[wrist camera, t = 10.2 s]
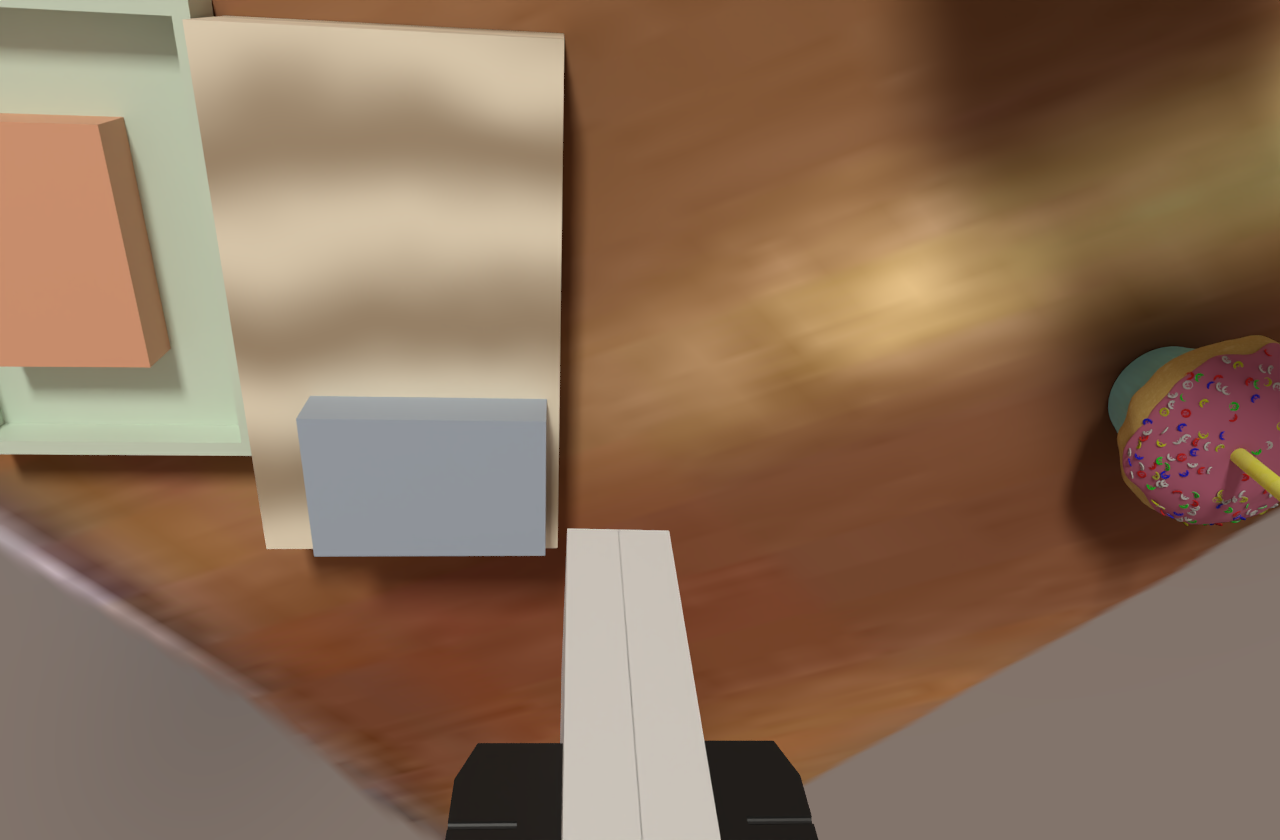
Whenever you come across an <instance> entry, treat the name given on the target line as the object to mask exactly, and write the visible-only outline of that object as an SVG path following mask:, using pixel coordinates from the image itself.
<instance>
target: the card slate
mask: <svg viewBox="0 0 1280 840" xmlns="http://www.w3.org/2000/svg"><path fill="white" fill-rule="evenodd" d="M296 423H297V430H298V438H299V445H300V453H301V461H302V468H303V476H304V483H305V491H306V499H307V506H308V514H309V521H310V529H311V537H312V544H313V552H314V557H331V556H545V547H546V444H547V399H509V398H432V397H355V396H310V397H309V398H308V400H307V402H306V403H305V405H304V407H303V408H302V410H301V411H300V413H299V415H298V416H297V418H296Z"/></svg>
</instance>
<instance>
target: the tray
mask: <svg viewBox="0 0 1280 840" xmlns="http://www.w3.org/2000/svg"><path fill="white" fill-rule="evenodd" d="M204 17H214V15H213V8H212V1H211V0H0V113H13V114H45V115H76V116H108V117H124V122H125V127H126V132H127V136H128V141H129V146H130V151H131V156H132V161H133V166H134V171H135V176H136V181H137V185H138V190H139V195H140V200H141V205H142V210H143V215H144V220H145V225H146V230H147V234H148V239H149V244H150V249H151V254H152V259H153V264H154V269H155V274H156V278H157V283H158V288H159V293H160V298H161V303H162V308H163V313H164V318H165V323H166V327H167V332H168V337H169V342H170V347H171V349H170V350H169V351H168V352H167V353H166V354H164V355H163V356H162V357H161V358H160V359H159V360H158V361H157V362H156V363H155V364H154V365H153V366H152V367H151V368H144V367H0V454H49V455H198V456H252V454H251V448H250V442H249V436H248V429H247V423H246V417H245V410H244V404H243V398H242V392H241V385H240V379H239V373H238V366H237V360H236V354H235V348H234V341H233V335H232V329H231V323H230V316H229V310H228V304H227V297H226V291H225V285H224V279H223V272H222V266H221V260H220V253H219V247H218V241H217V235H216V228H215V222H214V216H213V209H212V203H211V197H210V191H209V184H208V178H207V172H206V166H205V159H204V153H203V147H202V140H201V134H200V128H199V122H198V115H197V109H196V103H195V96H194V90H193V84H192V78H191V71H190V65H189V59H188V53H187V46H186V40H185V34H184V27H183V21H182V19H193V18H204Z"/></svg>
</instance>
